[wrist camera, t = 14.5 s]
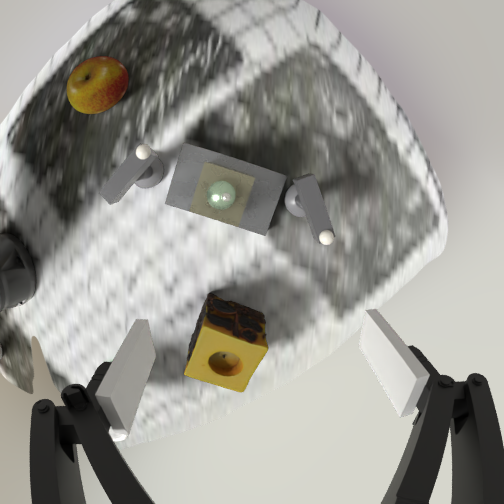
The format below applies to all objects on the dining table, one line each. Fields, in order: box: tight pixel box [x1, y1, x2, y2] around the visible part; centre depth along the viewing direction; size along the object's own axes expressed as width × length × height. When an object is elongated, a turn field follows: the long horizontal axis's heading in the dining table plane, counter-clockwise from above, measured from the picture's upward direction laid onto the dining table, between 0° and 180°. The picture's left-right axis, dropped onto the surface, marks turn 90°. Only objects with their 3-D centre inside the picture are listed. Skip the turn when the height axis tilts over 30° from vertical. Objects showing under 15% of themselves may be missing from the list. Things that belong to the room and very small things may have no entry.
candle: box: [184, 293, 268, 392], centre depth 44 cm, size 10×10×10 cm
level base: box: [165, 143, 287, 236], centre depth 36 cm, size 15×9×11 cm, turn 71°
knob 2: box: [284, 174, 335, 245], centre depth 37 cm, size 8×5×10 cm, turn 22°
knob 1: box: [99, 143, 164, 205], centre depth 35 cm, size 8×5×10 cm, turn 133°
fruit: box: [67, 56, 129, 114], centre depth 32 cm, size 10×9×8 cm
